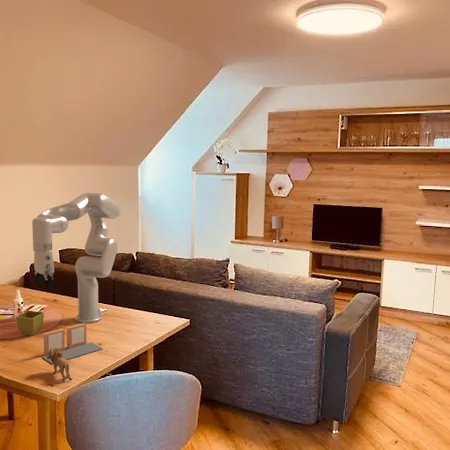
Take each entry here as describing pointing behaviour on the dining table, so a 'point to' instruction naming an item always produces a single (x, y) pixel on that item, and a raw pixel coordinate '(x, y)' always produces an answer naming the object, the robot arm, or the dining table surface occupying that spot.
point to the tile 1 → (54, 340)
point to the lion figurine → (58, 362)
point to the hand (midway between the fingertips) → (44, 286)
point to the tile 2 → (76, 335)
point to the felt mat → (77, 351)
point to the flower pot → (30, 322)
